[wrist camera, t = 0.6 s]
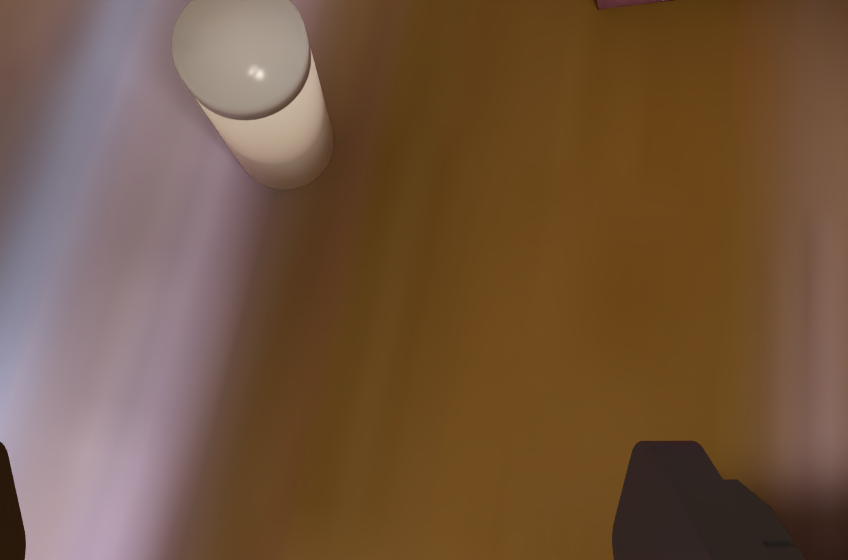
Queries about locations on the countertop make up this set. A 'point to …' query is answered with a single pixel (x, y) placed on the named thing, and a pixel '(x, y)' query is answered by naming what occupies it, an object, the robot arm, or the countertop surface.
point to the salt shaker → (257, 86)
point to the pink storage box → (623, 3)
